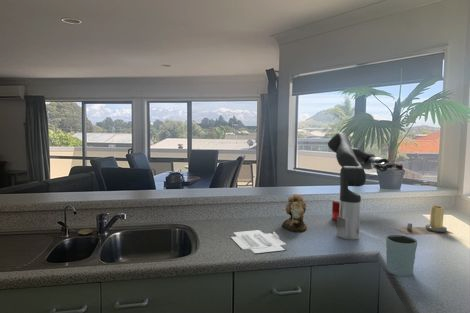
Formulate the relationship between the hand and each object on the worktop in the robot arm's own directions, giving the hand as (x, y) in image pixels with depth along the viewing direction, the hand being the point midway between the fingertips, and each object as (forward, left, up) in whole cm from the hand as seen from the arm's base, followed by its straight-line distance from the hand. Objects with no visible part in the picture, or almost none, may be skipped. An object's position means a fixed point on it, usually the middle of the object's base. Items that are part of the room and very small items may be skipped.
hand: (394, 167), depth 181 cm
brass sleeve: (+7, -21, -27) cm, 35 cm away
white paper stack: (-80, -1, -31) cm, 86 cm away
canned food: (-22, +15, -30) cm, 40 cm away
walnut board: (0, -19, -30) cm, 36 cm away
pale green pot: (-46, -47, -30) cm, 72 cm away
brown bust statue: (-53, +12, -30) cm, 63 cm away
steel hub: (+7, -21, -28) cm, 36 cm away
